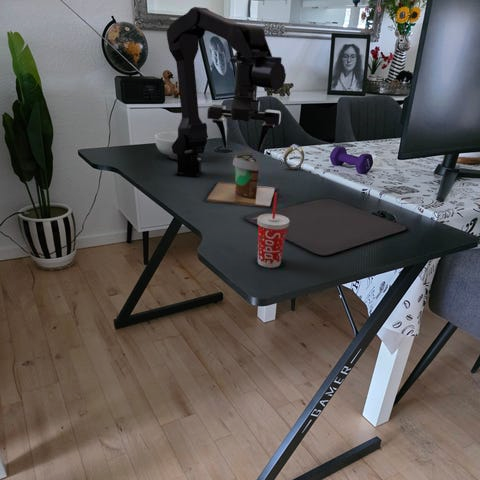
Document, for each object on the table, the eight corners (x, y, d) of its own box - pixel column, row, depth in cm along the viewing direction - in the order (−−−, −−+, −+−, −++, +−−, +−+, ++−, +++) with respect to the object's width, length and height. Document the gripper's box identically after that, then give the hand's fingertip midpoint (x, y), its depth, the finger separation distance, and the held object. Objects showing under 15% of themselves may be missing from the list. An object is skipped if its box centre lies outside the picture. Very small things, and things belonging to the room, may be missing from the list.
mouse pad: (327, 198, 127) (328, 197, 127) (409, 228, 110) (409, 228, 110) (241, 217, 110) (241, 216, 110) (322, 257, 93) (322, 256, 92)
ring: (284, 170, 151) (286, 145, 147) (281, 167, 154) (284, 143, 149) (303, 170, 152) (307, 146, 148) (301, 168, 155) (304, 143, 151)
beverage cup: (249, 264, 88) (254, 194, 80) (260, 253, 93) (266, 186, 85) (278, 271, 86) (286, 200, 79) (288, 260, 91) (297, 191, 83)
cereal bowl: (146, 158, 154) (145, 136, 151) (171, 149, 167) (170, 129, 164) (190, 165, 149) (190, 143, 145) (212, 156, 162) (212, 135, 159)
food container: (228, 186, 130) (230, 151, 125) (249, 187, 131) (252, 151, 125) (234, 200, 120) (236, 162, 114) (256, 200, 121) (259, 162, 115)
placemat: (206, 201, 119) (206, 199, 119) (218, 183, 134) (218, 181, 133) (269, 207, 118) (269, 205, 118) (274, 189, 132) (275, 187, 132)
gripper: (203, 84, 107) (202, 152, 116) (280, 91, 105) (273, 159, 114) (212, 80, 116) (211, 143, 125) (284, 86, 115) (277, 150, 123)
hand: (242, 149), depth 122 cm, fingers open, 9 cm apart
